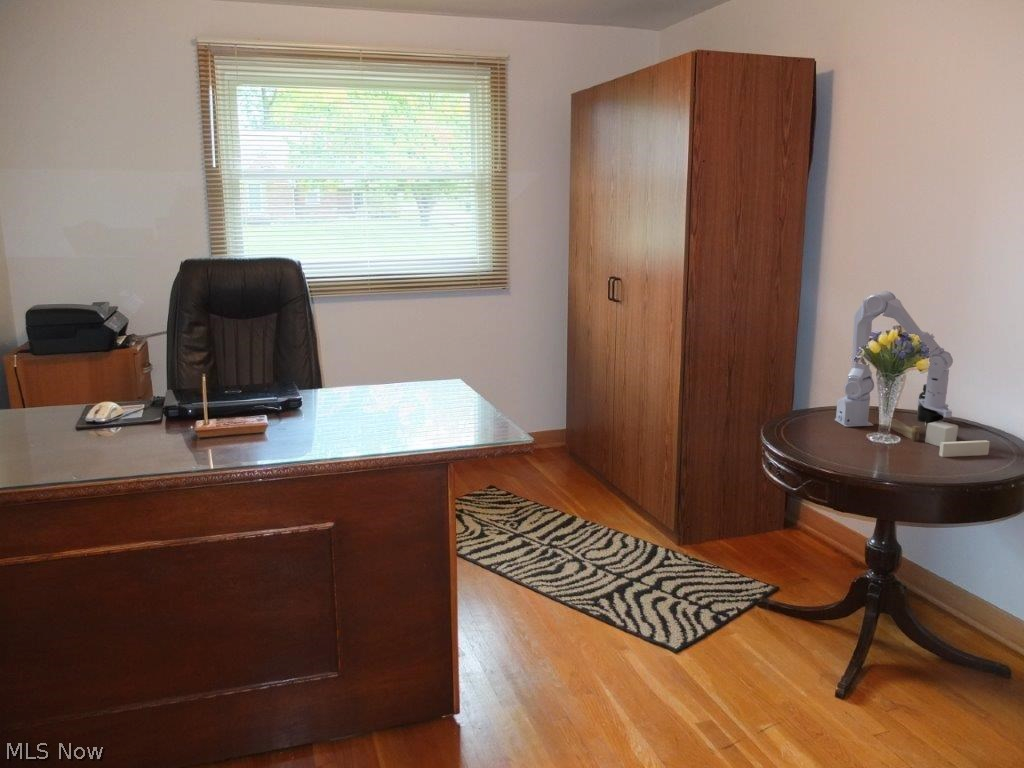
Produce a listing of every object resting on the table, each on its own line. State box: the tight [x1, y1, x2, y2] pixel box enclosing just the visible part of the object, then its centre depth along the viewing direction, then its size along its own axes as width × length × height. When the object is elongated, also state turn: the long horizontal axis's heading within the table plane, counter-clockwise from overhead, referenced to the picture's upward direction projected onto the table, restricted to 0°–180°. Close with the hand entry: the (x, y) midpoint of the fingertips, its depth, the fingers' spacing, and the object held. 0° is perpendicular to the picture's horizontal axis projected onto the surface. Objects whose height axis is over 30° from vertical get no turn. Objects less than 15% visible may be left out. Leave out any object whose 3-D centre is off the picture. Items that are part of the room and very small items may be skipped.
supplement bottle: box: [916, 383, 927, 423], centre depth 263 cm, size 7×7×12 cm
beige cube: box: [924, 420, 959, 448], centre depth 240 cm, size 6×6×6 cm
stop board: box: [938, 439, 991, 458], centre depth 230 cm, size 14×2×4 cm, turn 95°
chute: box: [890, 418, 956, 442], centre depth 250 cm, size 14×14×4 cm
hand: (931, 433), depth 246 cm, fingers closed
